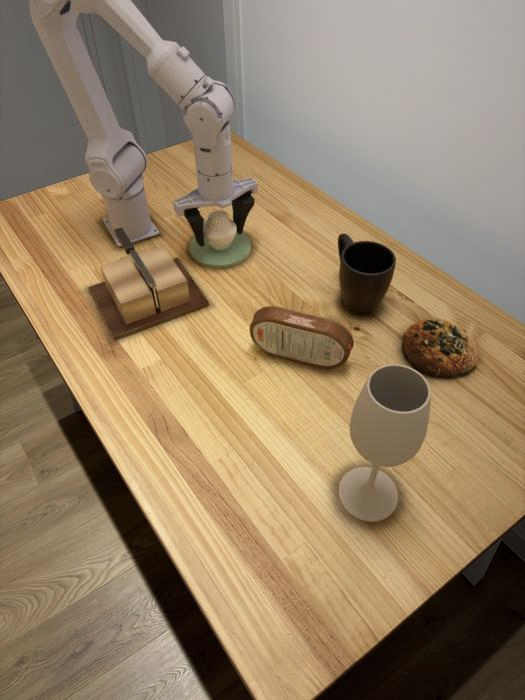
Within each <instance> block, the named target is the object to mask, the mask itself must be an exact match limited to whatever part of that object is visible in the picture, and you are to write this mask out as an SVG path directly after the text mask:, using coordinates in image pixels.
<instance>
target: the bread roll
mask: <svg viewBox="0 0 525 700" xmlns="http://www.w3.org/2000/svg"><path fill="white" fill-rule="evenodd" d="M401 343H402V350H403V352H404V354H405V356H406V358H407V360H408V361H409V363H410V365H411V366H412V368H413V369H414V370H416V371H418V372H419V373H423V374H426V375H429V376H434V377H435V376H437V377H452V376H454V377H455V376H457V375H458V374H464V373H468V372H470V371H471V370H472V369H473V368H474V367H475V366H476V365H477V364H478V361H479V360H478V358H479V357H478V347H477V343H476V341H475V339H474V337H473V336H472V335H471V334H470V333H469V331H468V330H466V329H463V328H462V327H460V326H459V325H457V324H456V323H454V322H452V321H449V320H446V319H443V318H434V319H422V320H419V321H417V322H415V323H412V324H410V326H409V327H408V328H407V329H406V331H404V333H403V335H402V340H401Z"/></svg>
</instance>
